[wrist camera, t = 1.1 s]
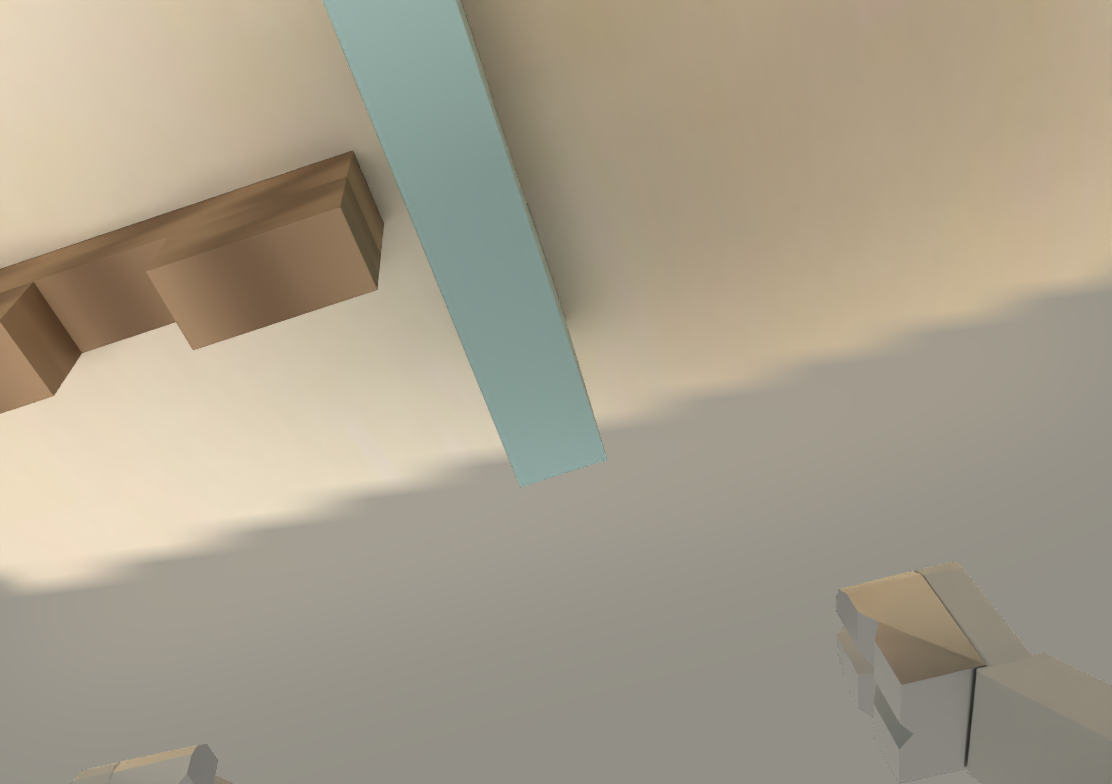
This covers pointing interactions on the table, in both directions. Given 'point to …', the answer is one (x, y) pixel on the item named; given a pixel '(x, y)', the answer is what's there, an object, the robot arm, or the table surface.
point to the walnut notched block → (192, 274)
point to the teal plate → (472, 223)
